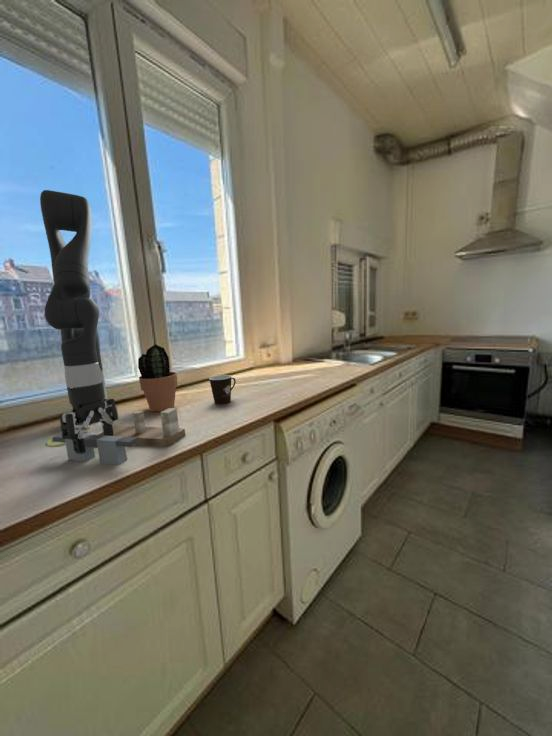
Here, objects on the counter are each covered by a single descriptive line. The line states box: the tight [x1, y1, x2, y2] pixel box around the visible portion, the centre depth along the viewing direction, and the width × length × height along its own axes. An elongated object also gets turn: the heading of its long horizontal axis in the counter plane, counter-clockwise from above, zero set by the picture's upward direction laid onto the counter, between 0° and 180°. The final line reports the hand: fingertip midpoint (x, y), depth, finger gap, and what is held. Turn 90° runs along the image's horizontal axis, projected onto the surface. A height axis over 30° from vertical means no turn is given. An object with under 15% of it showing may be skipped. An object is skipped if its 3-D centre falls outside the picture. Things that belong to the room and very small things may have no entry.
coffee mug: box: [209, 374, 237, 405], centre depth 125 cm, size 12×9×10 cm
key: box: [46, 425, 90, 448], centre depth 96 cm, size 7×12×2 cm, turn 175°
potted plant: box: [137, 344, 179, 412], centre depth 120 cm, size 14×14×25 cm
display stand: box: [97, 406, 186, 447], centre depth 91 cm, size 24×8×9 cm, turn 74°
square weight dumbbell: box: [51, 432, 138, 465], centre depth 79 cm, size 24×3×6 cm, turn 74°
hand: (95, 445), depth 78 cm, fingers open, 8 cm apart
